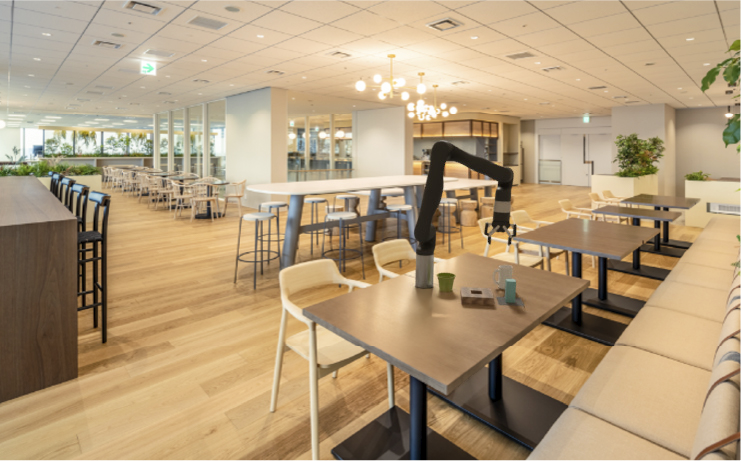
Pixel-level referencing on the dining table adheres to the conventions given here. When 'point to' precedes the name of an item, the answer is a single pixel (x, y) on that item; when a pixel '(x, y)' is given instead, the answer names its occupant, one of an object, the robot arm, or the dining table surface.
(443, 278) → the plant pot
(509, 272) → the mug
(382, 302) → the dining table surface
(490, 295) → the pocket block
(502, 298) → the mat
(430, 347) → the dining table surface
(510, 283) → the peg
